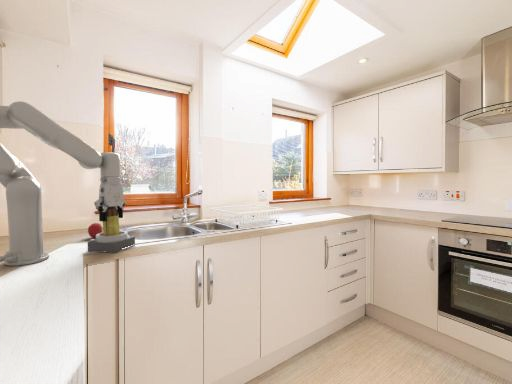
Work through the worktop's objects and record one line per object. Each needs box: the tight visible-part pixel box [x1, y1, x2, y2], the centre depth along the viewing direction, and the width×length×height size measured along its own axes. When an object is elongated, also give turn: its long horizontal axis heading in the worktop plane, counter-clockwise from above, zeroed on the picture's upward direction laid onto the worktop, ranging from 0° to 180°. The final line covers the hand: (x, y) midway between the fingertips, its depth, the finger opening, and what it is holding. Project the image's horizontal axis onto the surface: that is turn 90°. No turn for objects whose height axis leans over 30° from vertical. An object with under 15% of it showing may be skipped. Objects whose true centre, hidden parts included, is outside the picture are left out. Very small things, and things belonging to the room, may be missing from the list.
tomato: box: [87, 222, 103, 239], centre depth 136 cm, size 8×8×8 cm
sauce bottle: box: [102, 207, 121, 236], centre depth 114 cm, size 7×6×20 cm
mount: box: [87, 230, 136, 254], centre depth 115 cm, size 13×13×6 cm
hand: (111, 219), depth 115 cm, fingers open, 9 cm apart
